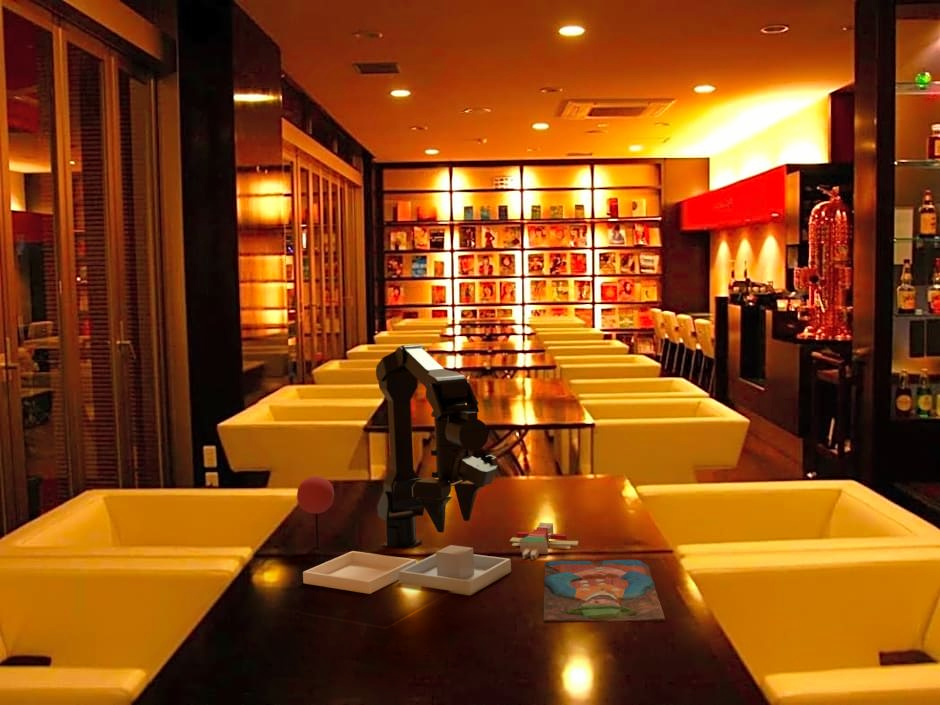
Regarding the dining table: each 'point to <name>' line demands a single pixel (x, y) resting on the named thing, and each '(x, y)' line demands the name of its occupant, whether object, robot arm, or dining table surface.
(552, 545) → the toy
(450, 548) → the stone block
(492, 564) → the bin
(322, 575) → the bin
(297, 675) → the dining table surface
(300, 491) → the lollipop
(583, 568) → the plaque
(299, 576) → the dining table surface
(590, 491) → the dining table surface
